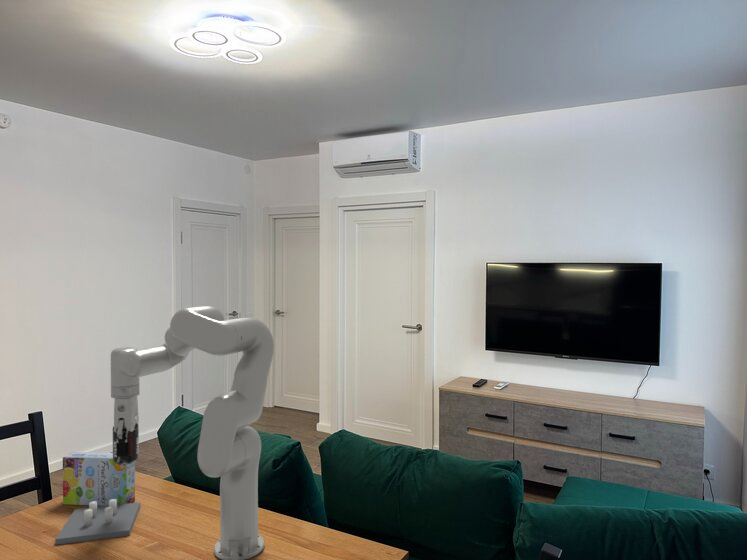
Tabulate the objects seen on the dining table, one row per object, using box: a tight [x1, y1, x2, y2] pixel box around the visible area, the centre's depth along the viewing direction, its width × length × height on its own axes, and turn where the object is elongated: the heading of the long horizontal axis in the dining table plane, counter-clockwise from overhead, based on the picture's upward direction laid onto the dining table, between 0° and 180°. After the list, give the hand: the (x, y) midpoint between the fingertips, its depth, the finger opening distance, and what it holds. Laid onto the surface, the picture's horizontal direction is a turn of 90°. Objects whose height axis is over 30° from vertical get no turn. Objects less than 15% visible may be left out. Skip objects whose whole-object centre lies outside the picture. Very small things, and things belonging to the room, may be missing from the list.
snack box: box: [62, 451, 136, 507], centre depth 163 cm, size 21×6×15 cm, turn 84°
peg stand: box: [54, 499, 141, 545], centre depth 149 cm, size 18×18×6 cm
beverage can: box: [112, 423, 140, 465], centre depth 152 cm, size 7×7×12 cm
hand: (125, 451), depth 152 cm, fingers closed on beverage can, 6 cm apart
